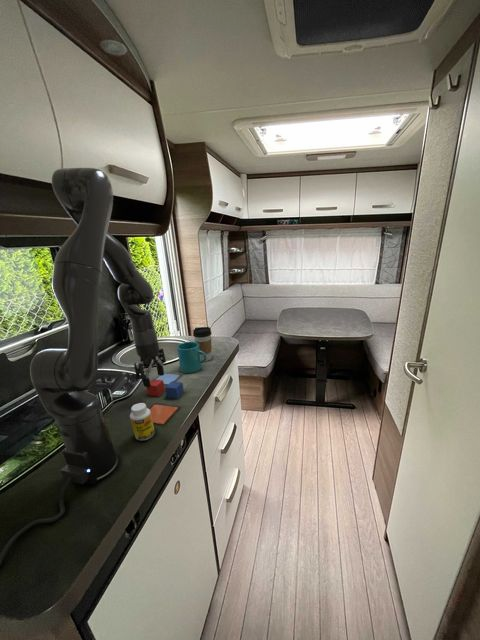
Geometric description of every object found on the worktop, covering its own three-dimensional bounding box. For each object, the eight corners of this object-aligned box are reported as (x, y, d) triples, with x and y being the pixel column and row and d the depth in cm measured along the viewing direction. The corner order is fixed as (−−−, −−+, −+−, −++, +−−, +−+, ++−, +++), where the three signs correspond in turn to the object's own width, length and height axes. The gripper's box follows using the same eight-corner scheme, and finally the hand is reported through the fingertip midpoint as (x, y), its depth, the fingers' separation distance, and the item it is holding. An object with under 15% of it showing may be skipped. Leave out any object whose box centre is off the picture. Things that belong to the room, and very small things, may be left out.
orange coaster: (163, 424, 87) (163, 423, 87) (138, 420, 90) (138, 419, 89) (178, 408, 95) (177, 407, 95) (155, 405, 97) (155, 404, 97)
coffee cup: (212, 362, 128) (209, 331, 123) (194, 362, 129) (190, 332, 123) (215, 354, 136) (212, 325, 130) (198, 355, 136) (194, 326, 130)
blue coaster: (170, 385, 110) (169, 384, 110) (152, 383, 112) (152, 382, 112) (180, 375, 117) (180, 374, 117) (163, 374, 119) (163, 373, 119)
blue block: (177, 398, 101) (175, 388, 99) (166, 397, 102) (164, 387, 100) (183, 392, 105) (182, 382, 103) (173, 391, 106) (171, 381, 104)
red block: (158, 396, 103) (156, 386, 101) (148, 395, 104) (145, 384, 102) (165, 390, 107) (163, 380, 105) (155, 389, 108) (152, 379, 106)
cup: (205, 373, 118) (202, 349, 114) (177, 373, 119) (173, 349, 115) (210, 364, 126) (207, 341, 122) (184, 364, 127) (181, 341, 123)
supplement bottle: (137, 444, 80) (129, 414, 75) (133, 433, 84) (126, 405, 80) (157, 436, 82) (150, 407, 78) (152, 426, 87) (146, 399, 83)
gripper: (149, 332, 104) (157, 370, 111) (122, 347, 92) (133, 389, 98) (166, 334, 102) (173, 372, 109) (142, 349, 90) (151, 392, 96)
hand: (154, 380), depth 103 cm, fingers open, 8 cm apart
